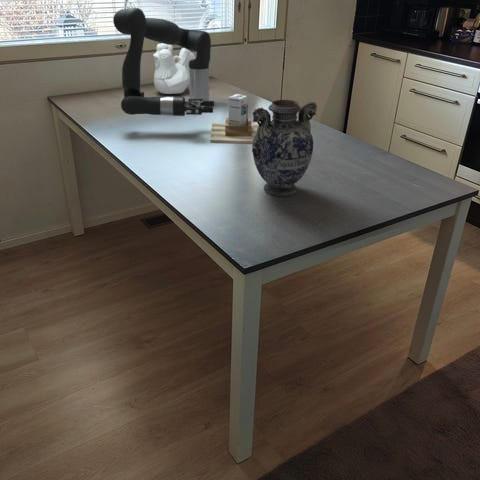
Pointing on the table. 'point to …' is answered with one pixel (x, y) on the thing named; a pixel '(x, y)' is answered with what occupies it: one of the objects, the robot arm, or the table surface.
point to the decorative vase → (283, 145)
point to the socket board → (233, 132)
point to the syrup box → (238, 109)
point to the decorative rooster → (171, 69)
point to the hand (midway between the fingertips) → (213, 106)
